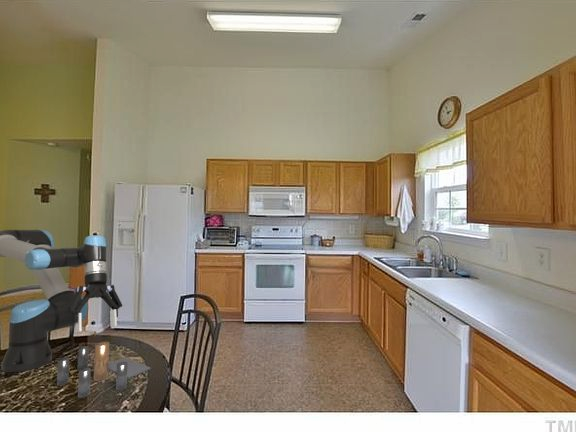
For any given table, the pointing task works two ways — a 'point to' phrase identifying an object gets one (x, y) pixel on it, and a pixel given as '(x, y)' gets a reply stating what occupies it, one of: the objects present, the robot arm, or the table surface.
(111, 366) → the rubber mat
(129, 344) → the table surface
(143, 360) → the table surface
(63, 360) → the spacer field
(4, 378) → the table surface
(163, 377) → the table surface
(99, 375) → the cylinder
